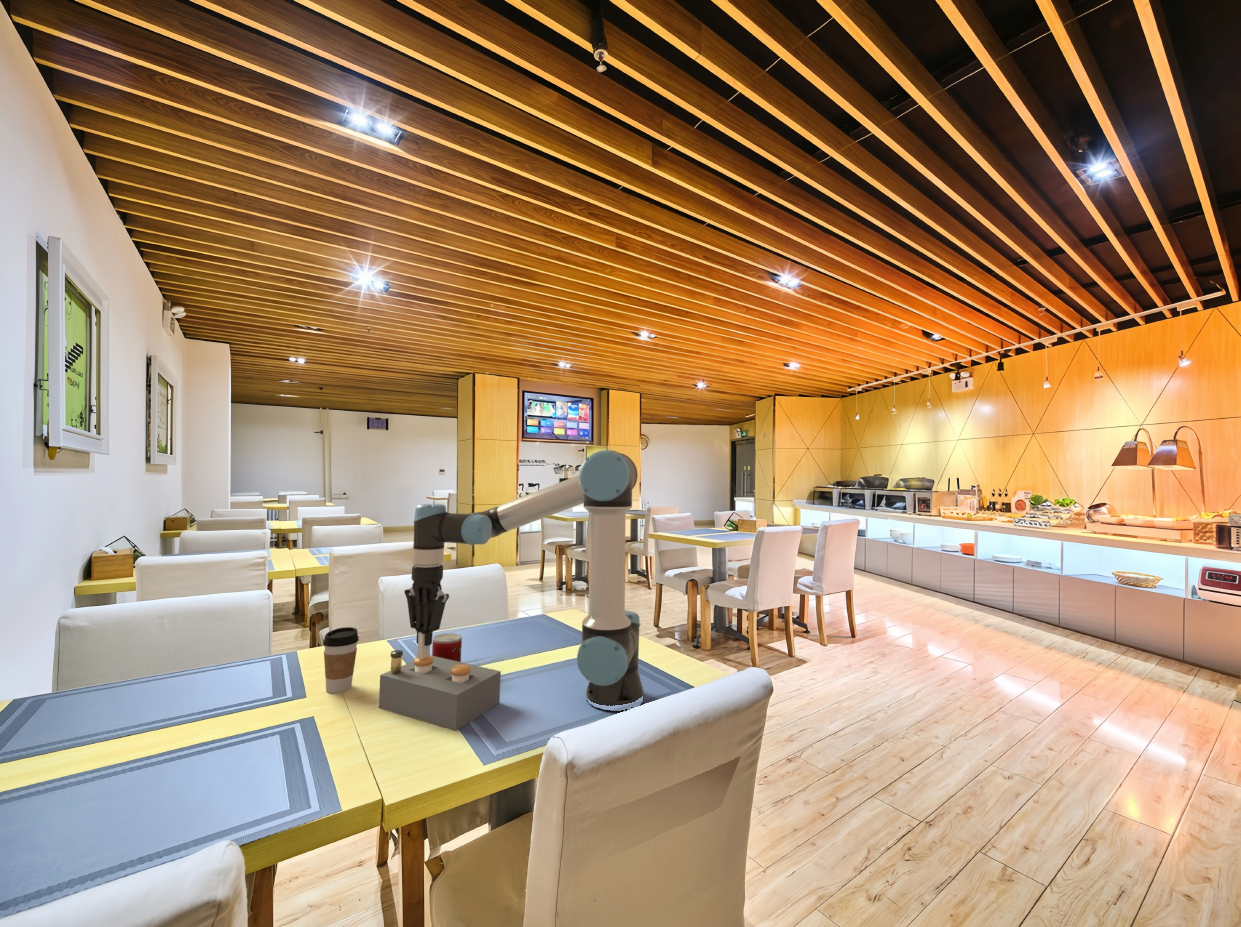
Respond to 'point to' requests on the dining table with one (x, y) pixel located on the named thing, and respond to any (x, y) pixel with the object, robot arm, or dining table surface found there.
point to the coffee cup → (340, 658)
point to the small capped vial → (396, 661)
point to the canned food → (447, 646)
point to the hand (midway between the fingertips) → (423, 657)
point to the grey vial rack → (440, 693)
